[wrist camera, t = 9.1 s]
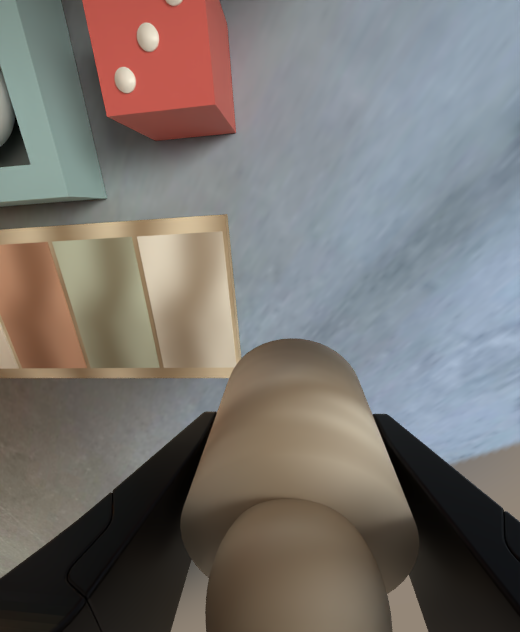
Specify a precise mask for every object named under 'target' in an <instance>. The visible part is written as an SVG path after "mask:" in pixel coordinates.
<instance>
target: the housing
mask: <svg viewBox="0 0 520 632" xmlns="http://www.w3.org/2000/svg"><path fill="white" fill-rule="evenodd" d="M0 66H1V69H2V72H3V76H4V79H5V82H6V85H7V89H8V92H9V95H10V99H11V102H12V105H13V108H14V112H15V115H16V118H17V121H18V125H19V128H20V131H21V135H22V138H23V141H24V144H25V148H26V151H27V154H28V157H29V161H30V164H31V165H21V166H10V167H0V207H3V206H16V205H29V204H42V203H54V202H67V201H80V200H93V199H106V198H107V196H106V192H105V188H104V183H103V179H102V175H101V170H100V166H99V162H98V157H97V153H96V149H95V145H94V140H93V136H92V132H91V127H90V123H89V119H88V114H87V110H86V106H85V101H84V97H83V93H82V88H81V84H80V80H79V75H78V71H77V67H76V62H75V58H74V54H73V50H72V45H71V41H70V37H69V32H68V28H67V24H66V19H65V15H64V11H63V6H62V2H61V0H0Z"/></svg>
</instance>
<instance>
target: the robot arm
mask: <svg viewBox="0 0 520 632" xmlns="http://www.w3.org/2000/svg"><path fill="white" fill-rule="evenodd" d="M216 414H217V412H204V413H202V414H201V415H200V416H199V417H198V418H197V419H195V420H194V421H193V422H192V423H191V424H190V425H188V426H187V427H186V428H185V429H184V430H183V431H181V432H180V433H179V434H178V435H177V436H176V437H174V438H173V439H172V440H171V441H170V442H169V443H167V444H166V445H165V446H164V447H163V448H162V449H160V450H159V451H158V452H157V453H156V454H155V455H154V456H152V457H151V458H150V459H149V460H148V461H147V462H145V463H144V464H143V465H142V466H141V467H140V468H138V469H137V470H136V471H135V472H134V473H133V474H131V475H130V476H129V477H128V478H127V479H126V480H124V481H123V482H122V483H121V484H120V485H119V486H117V487H116V488H115V489H114V490H113V493H109V494H108V495H107V496H106V497H104V498H103V499H102V500H101V501H100V502H99V503H97V504H96V505H95V506H94V507H93V508H91V509H90V510H89V511H88V512H87V513H85V514H84V515H83V516H82V517H81V518H79V519H78V520H77V521H76V522H74V523H73V524H72V525H71V526H69V527H68V528H67V529H65V530H64V531H63V532H61V533H60V534H59V535H58V536H56V537H55V538H54V539H52V540H51V541H50V542H48V543H47V544H46V545H44V546H43V547H42V548H40V549H39V550H38V551H36V552H35V553H34V554H32V555H31V556H30V557H28V558H27V559H26V560H24V561H23V562H22V563H20V564H19V565H18V566H16V567H15V568H14V569H12V570H11V571H10V572H8V573H7V574H6V575H4V576H3V577H2V578H0V632H170V631H171V628H172V625H173V621H174V618H175V614H176V611H177V607H178V604H179V601H180V597H181V593H182V590H183V587H184V583H185V580H186V577H187V573H188V570H189V566H190V563H191V560H192V559H191V557H190V556H189V554H188V552H187V550H186V548H185V546H184V543H183V540H182V536H181V529H180V523H181V515H182V510H183V507H184V504H185V501H186V498H187V496H188V493H189V490H190V487H191V484H192V482H193V479H194V476H195V473H196V470H197V468H198V465H199V462H200V459H201V456H202V454H203V451H204V448H205V445H206V442H207V439H208V437H209V434H210V431H211V428H212V425H213V423H214V420H215V417H216ZM373 418H374V420H375V423H376V425H377V428H378V430H379V433H380V435H381V438H382V440H383V443H384V445H385V448H386V450H387V453H388V455H389V458H390V460H391V463H392V465H393V468H394V470H395V473H396V475H397V478H398V480H399V483H400V485H401V488H402V490H403V493H404V495H405V498H406V500H407V503H408V505H409V508H410V510H411V513H412V515H413V518H414V520H415V523H416V526H417V529H418V535H419V552H418V556H417V559H416V562H415V564H414V566H413V568H412V570H411V572H410V573H409V576H410V579H411V582H412V585H413V587H414V591H415V594H416V597H417V600H418V602H419V605H420V608H421V611H422V614H423V617H424V620H425V623H426V626H427V629H428V632H520V522H519V521H518V520H517V519H515V518H514V517H513V516H512V515H511V514H509V513H508V512H506V511H505V512H504V510H503V508H502V507H501V506H499V505H498V504H497V503H496V502H495V501H493V500H492V499H491V498H490V497H488V496H487V495H486V494H484V493H483V492H482V491H481V490H480V489H478V488H477V487H476V486H475V485H474V484H472V483H471V482H470V481H469V480H468V479H466V478H465V477H464V476H462V475H461V474H460V473H459V472H458V471H456V470H455V469H454V468H453V467H452V466H450V465H449V464H448V463H447V462H445V461H444V460H443V459H442V458H441V457H439V456H438V455H437V454H436V453H434V452H433V451H432V450H431V449H429V448H428V447H427V446H426V445H425V444H423V443H422V442H421V441H420V440H418V439H417V438H416V437H415V436H414V435H412V434H411V433H410V432H409V431H407V430H406V429H405V428H404V427H402V426H401V425H400V424H399V423H398V422H396V421H395V420H394V419H393V418H391V417H390V416H389V415H387V414H373Z"/></svg>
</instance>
